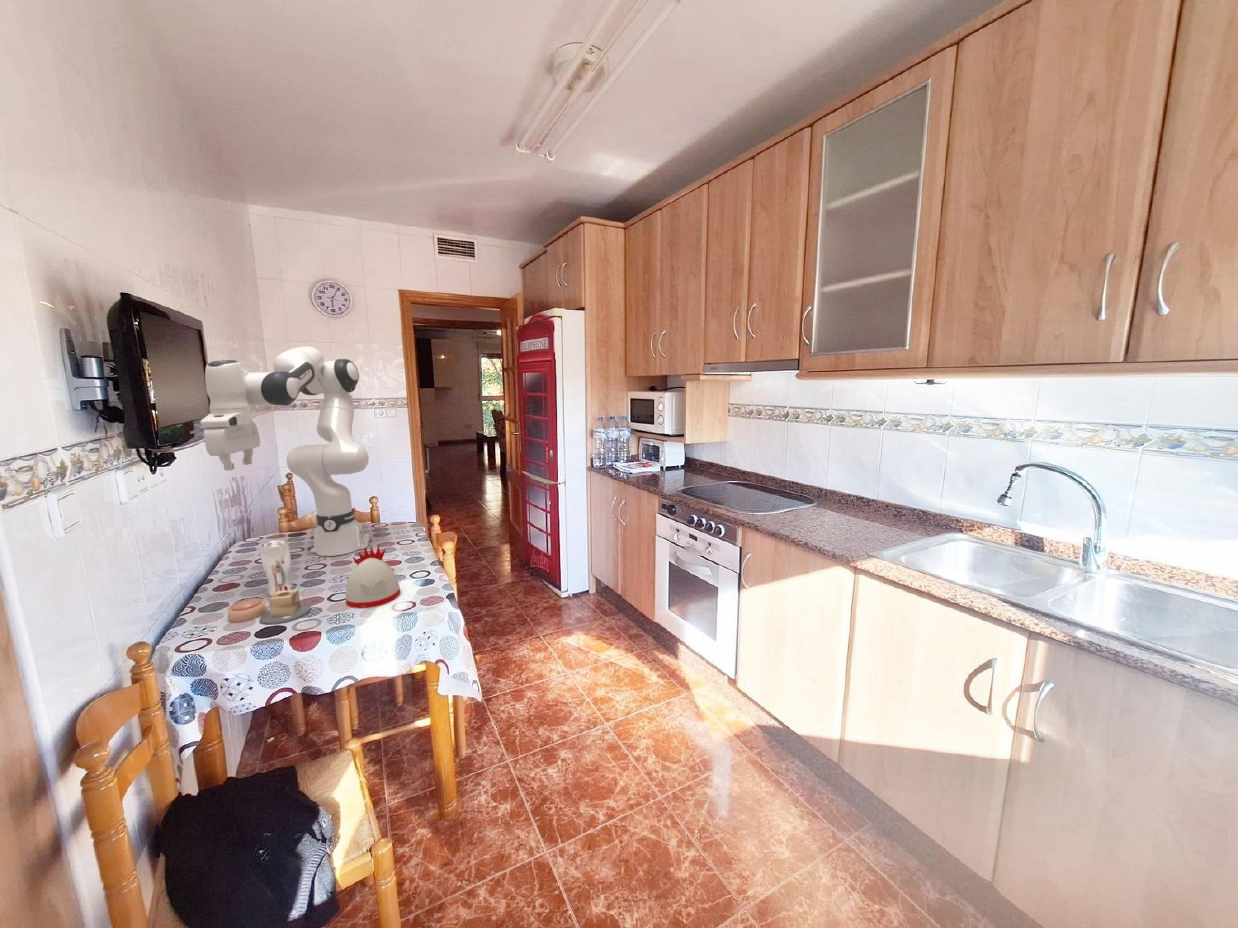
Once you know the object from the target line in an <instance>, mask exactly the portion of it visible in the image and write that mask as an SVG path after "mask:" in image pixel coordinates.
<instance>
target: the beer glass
mask: <svg viewBox="0 0 1238 928" xmlns="http://www.w3.org/2000/svg"><path fill="white" fill-rule="evenodd" d="M291 558H292V557H291V550H290V546H289V541H288V540H287V539H274V540H270V541H265V542H263V543H261V544H260V559H261V564H262V568H263V571H264V573H265V576H266V578H267V582H268V594H267V595H268V596H269V597H272V596H273V595H274V594H275V593H276V592H277V591H287V590H294V586H293V583H292V581H291V569H292V567H291V566H292V563H291V562H292V559H291Z"/></svg>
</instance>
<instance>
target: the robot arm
mask: <svg viewBox="0 0 1238 928" xmlns="http://www.w3.org/2000/svg"><path fill="white" fill-rule="evenodd" d="M272 364H273V366H272V367H273V371H272V372H271V371H269V372H268V371H267V372H266V371H265V372H264V371H263V372H250V371H249V370H247V369H245V368H243V367H242V364H241V363H240V361H238V360H235V359H221V360H214V361H210V362H209V363H207V364H206V366H205V371H204V375H205V376H204V377H205V388H206V393H207V395H208V397H209V403H210V404H209V412H210V413H208V414H207V416H205V417H204V418H202V419H201V420H200V426H201V428H202V429H204V431H203V438H204V444H205V449H206V453H207V454H208V455H209V456H210V457H219V460H220V462H221V463H222V465H223V469H224V471H233V470H234V469H235V463H234V462H232V460H231V458H232V455H231V454H235V453H239V452H242V453H243V458H242V464H243V465H246V466H247V465H248V466H249V465H252V464H253V459H252V458H253V455H254V448H259V447H260V446H261V437H260V434H259V430H258V427H257V424H256V423H254V420H253V419H252V415H251V410H250V409H251V408H250V406H282V407H287V406H290V405H292V404H293V403H294V402H295V401H296V399H297V398H298V396H299V394H300V393H302V394H303V395H305V396H317V395H320V394H321V395H323V397H324V398H323V402H322V403H321V408H320V410H319V416H318V420H317V425H316V431H317V434H318V435H319V437H321V439H323V440H324V441H327V442H329V443H327V444H326V443H325V444H306V445H302V446H297V447H293V448H292V449H290V451H289V452H288V454H287V456H286V459H285V460H286V466H287V469H288V470H289V471H290V472H291V473H292V474H293V475H295V476H297V477H298V478H300V479H301V480H302V481H303V482H305V483H306V485H307V486H308V487H309V490H310V491H311V493H312V494H313V498H314V504H315V509H316V515H315V521H316V525H317V526H316V528H314V529H313V543H314V546H313V547H312V548H311V549H310V553H312V554H316V555H318V556H321V557H334V556H340V555H346V554H351V553H353V552H356V551H358V550H364V548H365V547H366V549H367V548H368V545H369V543H370V539H371V535H370V534H368V533H367V534H366V533H364V529H363V525H362V523H360V522H359V521H358V520H356V516H355V515H356V508H355V507H352V499H351V498H352V497H351V496H352V495H351V492H350V489H349V488H348V487H346V485H343V484H341V483H338V482H337V481H335V480H334V479H333V477H332V476H335V475H336V476H337V475H341V476H342V475H350V474H351V475H352V474H356V473H359V472H363V471H364V470H365V469H366V468H367V466H368V463H369V454H368V451H367V449H366V448H365V447H364V446H363V445H361V444H359V443H357V442H356V440H355V439H354V437H353V432H352V431H353V422H354V417H355V416H354V415H355V404H354V403H355V402H354V397H353V396H352V395H351V393H352V392H354V391H355V390H356V388H357V387H356V386H357V385H358V383H359V378H360V373H359V370H358V367H357V365H356V364H355V362H353V361H352V360H350V359H347V358H337V359H336V360H327V361H325V358H324V356H323V353H322V352H321V351H319V349H317V348H315V347H313V346H309V345H308V346H307V345H304V346H297V347H293V348H290V349H287V350H285V351H283V352H282V353H280V354H278V355H277V356H276V357H275V358H274V359H273V363H272Z"/></svg>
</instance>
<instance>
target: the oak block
mask: <svg viewBox="0 0 1238 928" xmlns="http://www.w3.org/2000/svg"><path fill="white" fill-rule="evenodd" d="M299 593H300V591H299V589H293V590H287V591H277V592H276V593H275V594H274V595H273V596H270V597H269V598H268V605H269V606H268V607H269V610H270V613H271V617H280V616H290V615H293V614H294V613H295V612H296V611H297V610H298V609H299V608H300V607H301V605H300V603H301V600H300V599H301V598H300V594H299Z"/></svg>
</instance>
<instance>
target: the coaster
mask: <svg viewBox="0 0 1238 928" xmlns="http://www.w3.org/2000/svg"><path fill="white" fill-rule="evenodd" d="M300 605H301V607H300V608H299V609H298V610H297V611H296V612H295V613H294V614H293V615H290V616H280V617H271V613H270V609H268V610H267V611H266V612H265V613H264V614H263V615H262V616H260V621H261V623H262V624H265V625H279V624H286V623H291V622H293V621H295V620H298V619H301V618H302V617H304V616H306V615H307V614H309V613H310V611H311V610H312V609H311V608H312V607H311V604H309V603H306V602H300Z"/></svg>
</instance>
